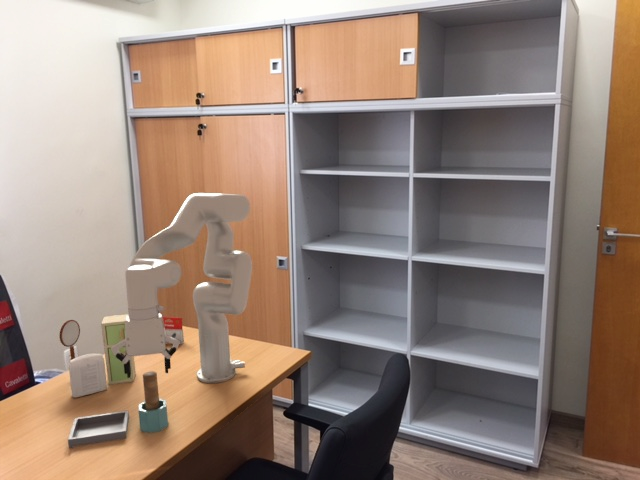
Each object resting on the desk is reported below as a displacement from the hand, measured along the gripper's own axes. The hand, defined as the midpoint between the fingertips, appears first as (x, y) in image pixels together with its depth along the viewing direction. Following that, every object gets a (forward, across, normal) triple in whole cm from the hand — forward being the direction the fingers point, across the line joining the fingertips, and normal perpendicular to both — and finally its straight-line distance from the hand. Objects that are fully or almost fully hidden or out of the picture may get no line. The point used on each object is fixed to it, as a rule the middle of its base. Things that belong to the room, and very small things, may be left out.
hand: (148, 373), depth 146 cm
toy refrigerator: (+16, +10, -34) cm, 39 cm away
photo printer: (+16, +19, -28) cm, 37 cm away
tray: (+16, +13, -2) cm, 21 cm away
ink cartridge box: (+15, -4, -62) cm, 64 cm away
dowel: (+16, 0, -1) cm, 16 cm away
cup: (+16, -1, -1) cm, 16 cm away
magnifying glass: (+16, +25, -40) cm, 50 cm away
